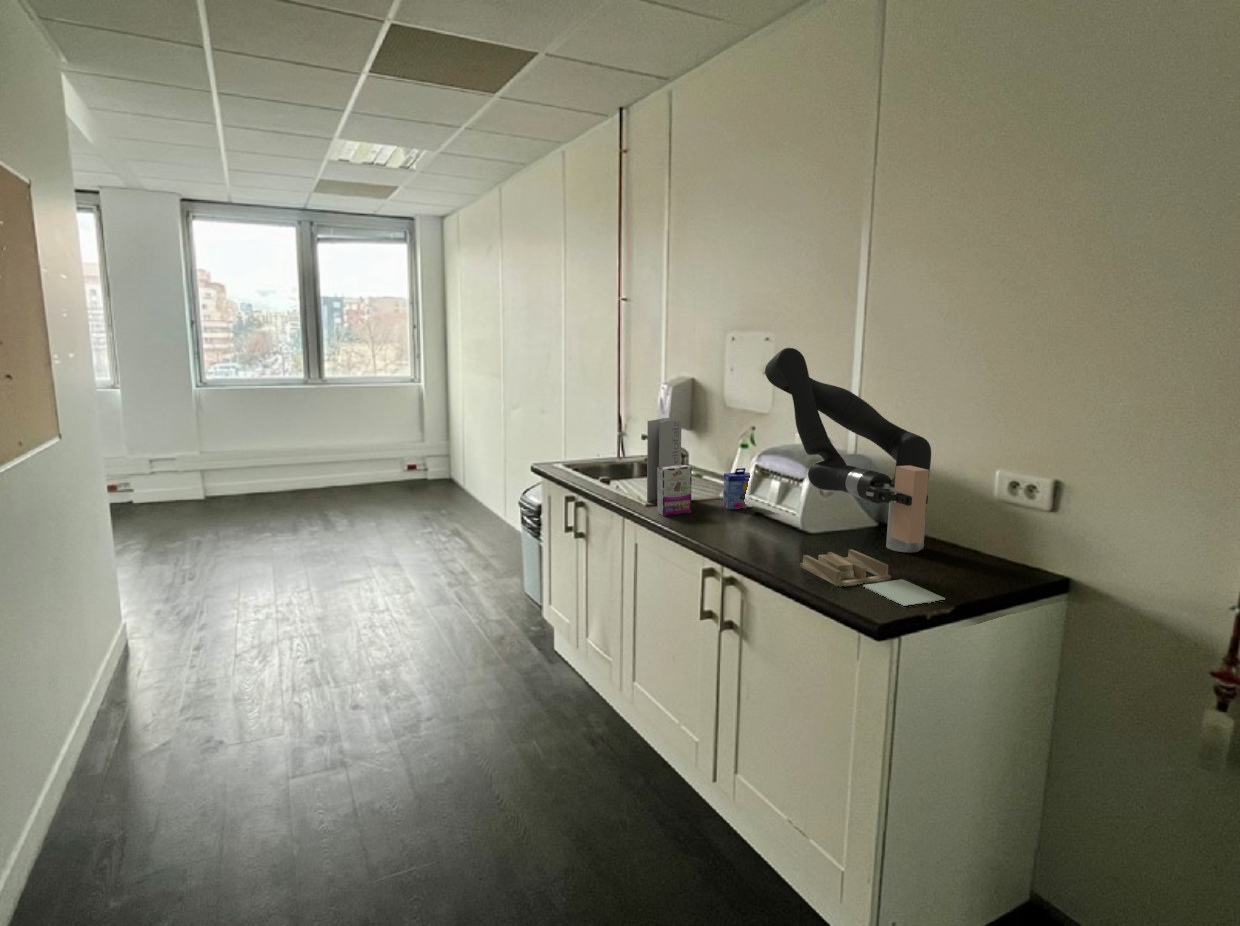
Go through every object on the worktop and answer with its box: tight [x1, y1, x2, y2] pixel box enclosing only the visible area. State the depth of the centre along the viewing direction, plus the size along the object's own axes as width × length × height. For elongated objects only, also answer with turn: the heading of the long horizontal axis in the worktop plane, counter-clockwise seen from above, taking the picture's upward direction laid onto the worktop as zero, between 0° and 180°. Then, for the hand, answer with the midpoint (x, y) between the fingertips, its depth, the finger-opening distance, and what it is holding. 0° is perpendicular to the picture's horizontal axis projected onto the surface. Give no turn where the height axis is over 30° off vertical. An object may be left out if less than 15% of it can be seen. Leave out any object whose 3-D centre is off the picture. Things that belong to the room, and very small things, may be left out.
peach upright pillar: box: [890, 465, 930, 544], centre depth 164 cm, size 4×6×17 cm, turn 20°
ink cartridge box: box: [722, 467, 751, 510], centre depth 250 cm, size 10×6×14 cm, turn 104°
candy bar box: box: [656, 464, 692, 517], centre depth 242 cm, size 11×5×16 cm, turn 114°
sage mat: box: [862, 578, 946, 607], centre depth 167 cm, size 12×14×1 cm
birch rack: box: [799, 549, 892, 588], centre depth 182 cm, size 16×16×4 cm
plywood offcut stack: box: [817, 554, 855, 581], centre depth 180 cm, size 4×11×4 cm, turn 15°
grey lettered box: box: [646, 417, 683, 503], centre depth 261 cm, size 14×6×30 cm, turn 143°
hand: (918, 500), depth 161 cm, fingers closed on peach upright pillar, 4 cm apart
